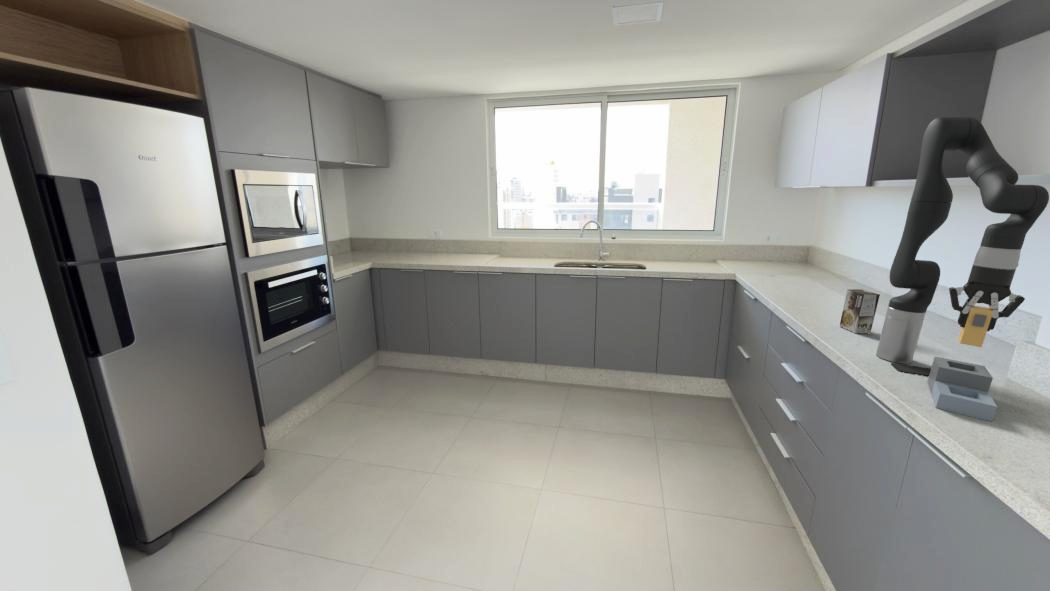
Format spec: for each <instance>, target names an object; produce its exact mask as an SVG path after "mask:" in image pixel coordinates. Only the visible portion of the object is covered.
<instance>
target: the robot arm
mask: <svg viewBox="0 0 1050 591" xmlns="http://www.w3.org/2000/svg"><path fill="white" fill-rule="evenodd" d="M921 143H922V144H921V149H920V157H919V163H918V164H919V165H918V170H917V175H916V179H915V180H916V181H915V184H914V189H913V192H912V195H911V198H910V203H909V206H908V211H907V213H906V214H907V215H906V220H905V224H904V228H903V232H902V235H901V239H900V242H899V245H898V247H897V249H896V253H895V255H894V258H893V261H892V265H891V267H890V270H889V282H890V284H891V286H892V287H894V288H898V289H906V290H907V289H909V291H908V292H906V293H904V294H902V295H897V296H894V297H892V298H890V300H889V301H888V306H887V309H886V314H885V318H884V323H883V325H882V329H881V333H880V337H879V341H878V344H877V349H876V353H875V355H876V356H877V357H878V358H880V359H883V360H886V361H889V362H891V363H898V364H912V363H913V360H914V357H915V356H914V355H915V353H916V349H917V345H918V341H919V339H920V334H921V330H922V327H923V324H924V320H925V317H926V313H927V310H928V308H929V306H930V305H931V303H932V301H933V298H934V297H935V296H934V295H935V292H936V291H937V288H938V285H939V282H940V278H941V268H940V266H939V264H938V262H936V261H933V260H922V259H921V260H920V259H916V258H917V255H918V253H919V250H920V248H921V246H922V245H923V244H924V243H925V241H927V240H928V238H930V236H931V235H933V234H934V233H935V232H937V230H938V229H939V228H940V227H942V225H943V224H944V223H945V222H946V221H947V219H948V217H949V214H950V211H951V207H952V203H953V198H954V193H953V189H952V188H951V186H950V183H949V180H948V179H947V177H946V174H945V172H944V168H943V161H944V153H945V151H952V152H953V151H961V152H962V153H964V154H965V155H967V156H968V157H969V159H968V160H967V164H966V167H965V168H966V173H967V175H968V177H969V179H970V180H971V181H972V182H973V183H974V184H975V185H976V187H978V188H979V193H980V197H981V201H982V205H983V206H984V207H983V208H985V209H987V210H988V211H990V212H991V213H993V214H1001V215H1003V214H1004V215H1005V214H1006V215H1009V216H1008V217H1007V219H1006V220H1004V221H1002V222H996V223H992V224H989V225H987V226H986V228H985V231H984V232H983V236H982V238H981V239H982V240H981V241H980V246H979V248H978V250H977V252H976V254H975V256H974V260H973V264H972V267H971V270H970V272H969V276H968V279H967V282H966V283H965V284H964V285H963V286H960V287H958V286H957V287H953V286H951V287H949V288H948V291H949V298H950V302H951V307H952V309H953V311H957V312H959V315H958V319H957V324H958V325H959V326H960V328H962V327H965V324H966V321H967V318H968V312H969V311H970V309H971V307H973V306H976V304H985V305H988V307H989V308H990V309H991V310H993V314H992V317H991V320H990V323H989V326H988V329H987V332H990V331H992V330H994V329H995V326H996V323H997V320H998V319H1000V318H1009V317H1010V316H1011V315H1012V314H1013V313H1014V312H1015V311H1016V310H1017V309H1018V308H1019V307H1020V305H1021V304H1023V303H1024V301H1025V297H1024V296H1022V295H1020V294H1018V295H1017V294H1015V293H1013V292H1012V290H1011V285H1012V282H1013V280H1014V276H1015V274H1016V270H1017V268H1018V266H1019V262H1020V257H1021V251H1022V249H1023V248H1022V247H1023V245H1024V242H1025V239H1026V236H1027V233H1028V232H1029V231H1030V229H1031V228H1032V227H1033V226H1034V224H1035V223H1036V222H1037V220H1038V219H1039V218H1040V216H1041V215H1042V214H1043V213H1044V211H1045V209H1046V208H1047V206H1048V204H1049V201H1050V194H1049V191H1048V190H1047V189H1046V188H1045V187H1044V186H1042V185H1038V184H1017V182H1018V181H1019V174H1018V172H1017V171H1016V169H1014V168H1013V166H1012V165H1010V164H1009V162H1007V161H1006V160H1005V159H1004V157H1002V156H1001V154H1000V153H999V152H998V151H997V149H996V148H995V145H994V144H993V142H992V139H991V138H990V136H989V135H988V133H987V130H986V129H985V127H984V125H983V123H982V122H981V121H980V120H979V119H977V118H975V117H971V116H939V117H936V118H935V119H933V120H931V122H930V123H929V124H928V125H927V126H926V129H925V131H924V133H923V138H922V142H921ZM963 292H964V293H965V294H966V297H967V299H966V301H965V302H964V303H963V305H962V306H961V305H960V302H959V301H960V300H959V296H961V295H962V293H963ZM1008 297H1009V298H1008ZM1006 298H1008V304H1007V305H1006V306H1005V307H1004V308H1002V310H1001V311H999V303H1000V302H1001V301H1003V300H1005V299H1006Z"/></svg>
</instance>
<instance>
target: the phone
mask: <svg viewBox="0 0 1050 591" xmlns="http://www.w3.org/2000/svg"><path fill="white" fill-rule="evenodd" d="M890 365H891V367H893V368H894V369H895V371H897V372H900V373H903V372H904V373H905V374H909V373H910V374H909V375H915V374H918V375H917V376H921V375H923V377H928V376H929V374H930V371H931V367H925V366H917V365H911V364H906V363H897V362H891V363H890Z"/></svg>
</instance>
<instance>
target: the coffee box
mask: <svg viewBox="0 0 1050 591" xmlns="http://www.w3.org/2000/svg"><path fill="white" fill-rule="evenodd" d="M845 293H846V294H845V298H844V302H843V303H844V304H843V308H842V313H841V318H840V322H839V326H841V327H843V328H842V329H844V328H845V329H844V330H846V329H848V330H847V331H849V330H850V331H849V332H851V331H852V332H851V333H853V332H854V333H853V334H857V333H870V334H871V333H872V328H873V326H874V325H873V324H874V320H875V317H876V316H875V315H876V312H877V308H878V304H879V300H880V297H881V295H880V294H879V293H876V292H873V291H868V290H866V289H862V288H861V289H858V288H857V289H855V288H854V289H851V288H850V289H848V288H847V289H846V292H845ZM841 327H840V328H841Z"/></svg>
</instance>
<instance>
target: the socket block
mask: <svg viewBox="0 0 1050 591" xmlns="http://www.w3.org/2000/svg"><path fill="white" fill-rule="evenodd" d="M933 357H934V358H933V360H932V365H931V367H930V368H931V371H930V374H929V377H928V378H927V385H928V388H929V391H930V394H931V398H932V400H933V403H934V406H935V408H937V409H940V410H944V411H949V412H951V413H956V414H960V415H964V416H968V417H973V418H977V419H980V420H985V421H989V422H993V420H994V417H995V414H996V411H997V408H998V406H997V404H996V402H995V400H994V399H993V397H992V396H991V394H990V393H989V391H990V388H991V385H992V381H993V379H994V378H993V375H991V373H990V372H989V370H988V369H987V367H986V366H985V365H981V364H976V363H971V362H967V361H961V360H955V359H951V358H944V357H940V356H939V357H938V356H933Z"/></svg>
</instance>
